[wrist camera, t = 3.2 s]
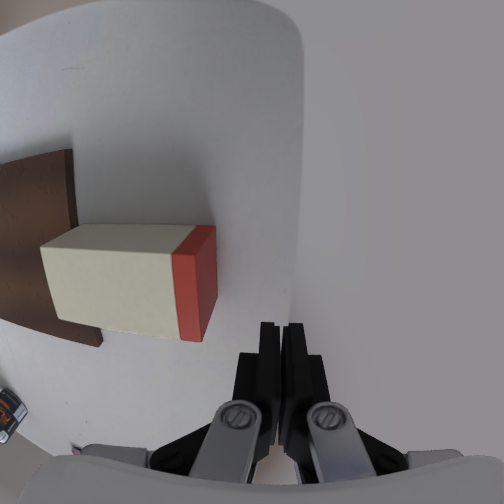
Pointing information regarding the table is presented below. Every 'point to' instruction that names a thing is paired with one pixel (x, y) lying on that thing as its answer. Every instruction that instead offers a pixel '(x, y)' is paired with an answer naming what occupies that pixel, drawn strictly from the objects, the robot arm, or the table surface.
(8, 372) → the table surface
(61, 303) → the container
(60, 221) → the board
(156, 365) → the table surface
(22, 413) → the pill bottle
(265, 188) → the table surface
